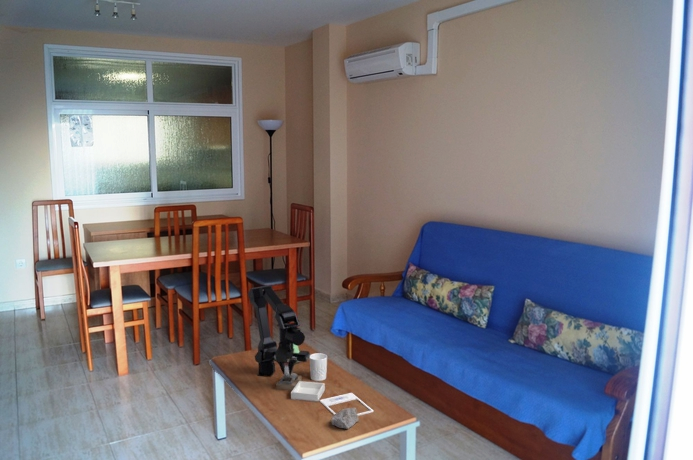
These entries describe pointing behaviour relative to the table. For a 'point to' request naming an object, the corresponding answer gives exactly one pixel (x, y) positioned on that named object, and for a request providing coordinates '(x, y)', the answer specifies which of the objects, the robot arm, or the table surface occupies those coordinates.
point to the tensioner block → (288, 382)
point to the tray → (308, 391)
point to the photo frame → (342, 399)
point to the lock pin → (286, 371)
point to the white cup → (318, 366)
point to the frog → (296, 350)
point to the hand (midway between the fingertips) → (287, 374)
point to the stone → (345, 418)
